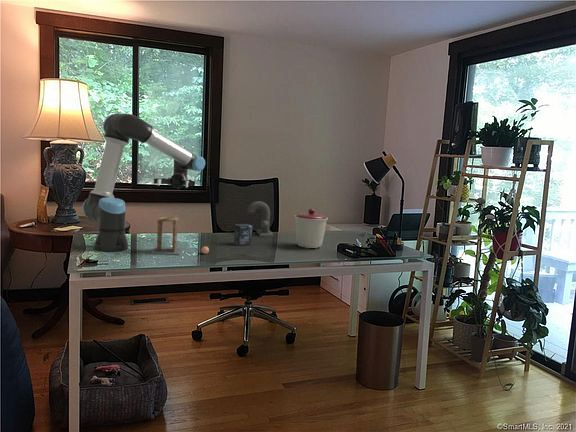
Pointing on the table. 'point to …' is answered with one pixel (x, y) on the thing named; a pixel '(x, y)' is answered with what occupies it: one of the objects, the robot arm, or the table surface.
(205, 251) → the ball
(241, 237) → the box
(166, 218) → the wooden open frame
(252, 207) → the faucet
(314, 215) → the canister
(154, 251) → the mat
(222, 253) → the table surface
